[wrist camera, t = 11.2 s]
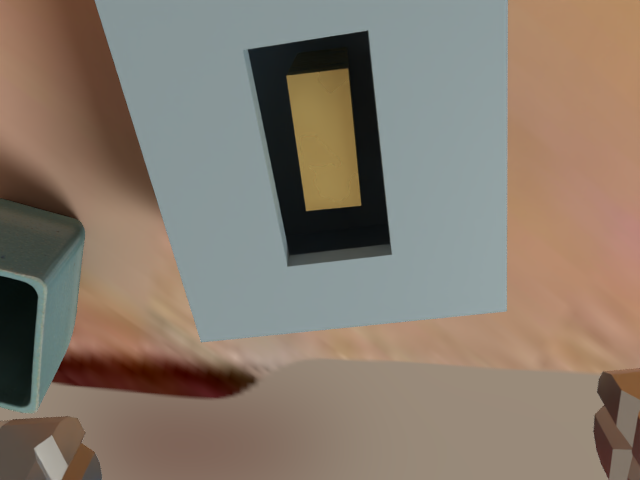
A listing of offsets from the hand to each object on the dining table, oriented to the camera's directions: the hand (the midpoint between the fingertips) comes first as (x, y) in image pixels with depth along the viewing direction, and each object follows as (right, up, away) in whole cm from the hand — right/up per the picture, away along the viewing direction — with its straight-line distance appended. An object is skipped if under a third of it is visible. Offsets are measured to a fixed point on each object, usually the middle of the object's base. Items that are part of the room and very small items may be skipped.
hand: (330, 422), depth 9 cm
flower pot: (-18, +3, +26) cm, 31 cm away
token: (0, +10, +20) cm, 22 cm away
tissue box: (0, +10, +21) cm, 23 cm away
